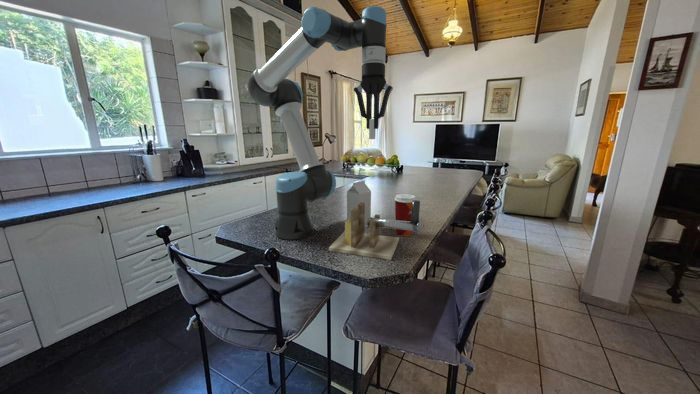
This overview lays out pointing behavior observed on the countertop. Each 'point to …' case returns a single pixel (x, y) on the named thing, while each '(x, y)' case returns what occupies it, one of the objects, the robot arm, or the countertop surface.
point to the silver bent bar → (402, 225)
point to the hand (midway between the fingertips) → (372, 138)
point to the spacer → (348, 232)
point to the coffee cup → (403, 211)
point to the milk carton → (359, 199)
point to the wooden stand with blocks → (365, 238)
